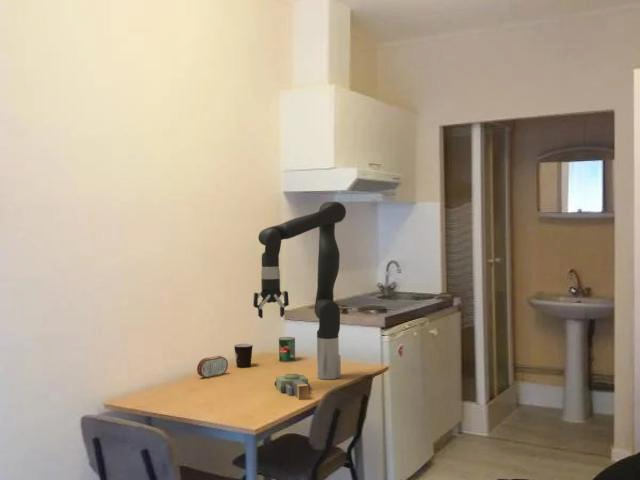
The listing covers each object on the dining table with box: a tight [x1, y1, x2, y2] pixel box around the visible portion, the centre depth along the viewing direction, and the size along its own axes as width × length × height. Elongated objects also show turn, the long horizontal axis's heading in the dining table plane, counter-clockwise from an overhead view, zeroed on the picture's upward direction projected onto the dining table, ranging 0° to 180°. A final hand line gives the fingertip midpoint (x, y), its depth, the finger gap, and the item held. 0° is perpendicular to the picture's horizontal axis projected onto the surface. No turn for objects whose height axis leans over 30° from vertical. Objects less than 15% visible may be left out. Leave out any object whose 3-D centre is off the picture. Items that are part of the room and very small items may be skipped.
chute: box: [292, 380, 309, 400], centre depth 257 cm, size 4×10×5 cm, turn 18°
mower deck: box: [273, 373, 311, 397], centre depth 267 cm, size 12×15×6 cm
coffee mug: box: [233, 343, 253, 369], centre depth 316 cm, size 12×9×10 cm
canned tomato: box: [278, 336, 296, 363], centre depth 326 cm, size 8×8×11 cm
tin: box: [196, 355, 229, 379], centre depth 295 cm, size 15×3×8 cm, turn 134°
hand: (271, 317), depth 274 cm, fingers open, 8 cm apart
